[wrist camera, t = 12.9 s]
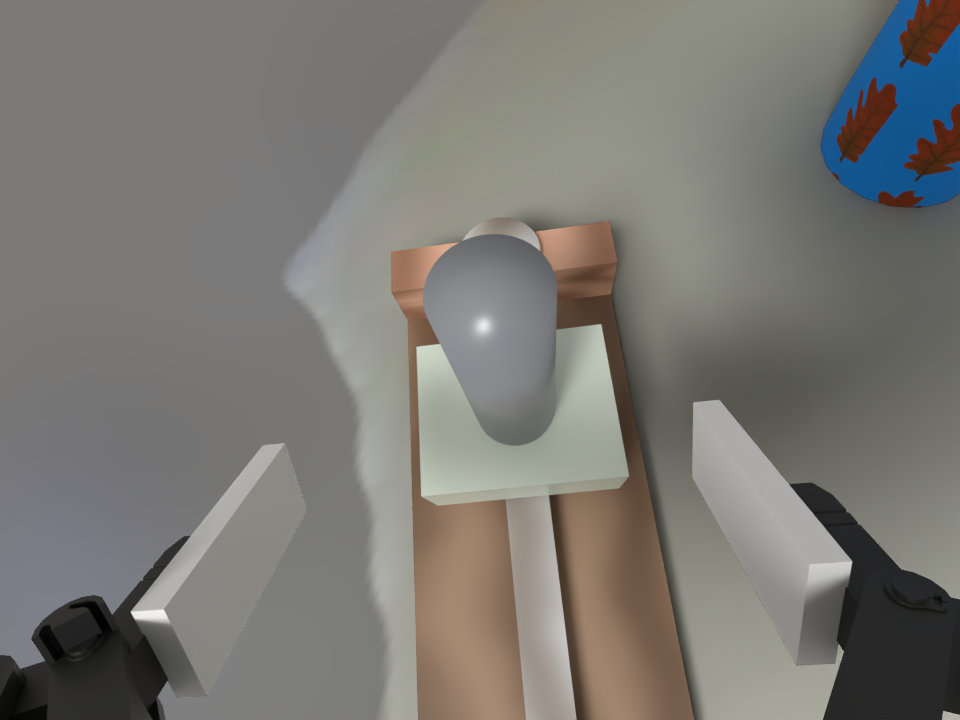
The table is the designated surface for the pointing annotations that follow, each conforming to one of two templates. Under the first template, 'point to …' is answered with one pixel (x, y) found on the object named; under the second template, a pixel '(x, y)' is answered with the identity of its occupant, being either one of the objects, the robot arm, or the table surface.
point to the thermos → (902, 111)
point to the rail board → (589, 579)
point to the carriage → (510, 383)
